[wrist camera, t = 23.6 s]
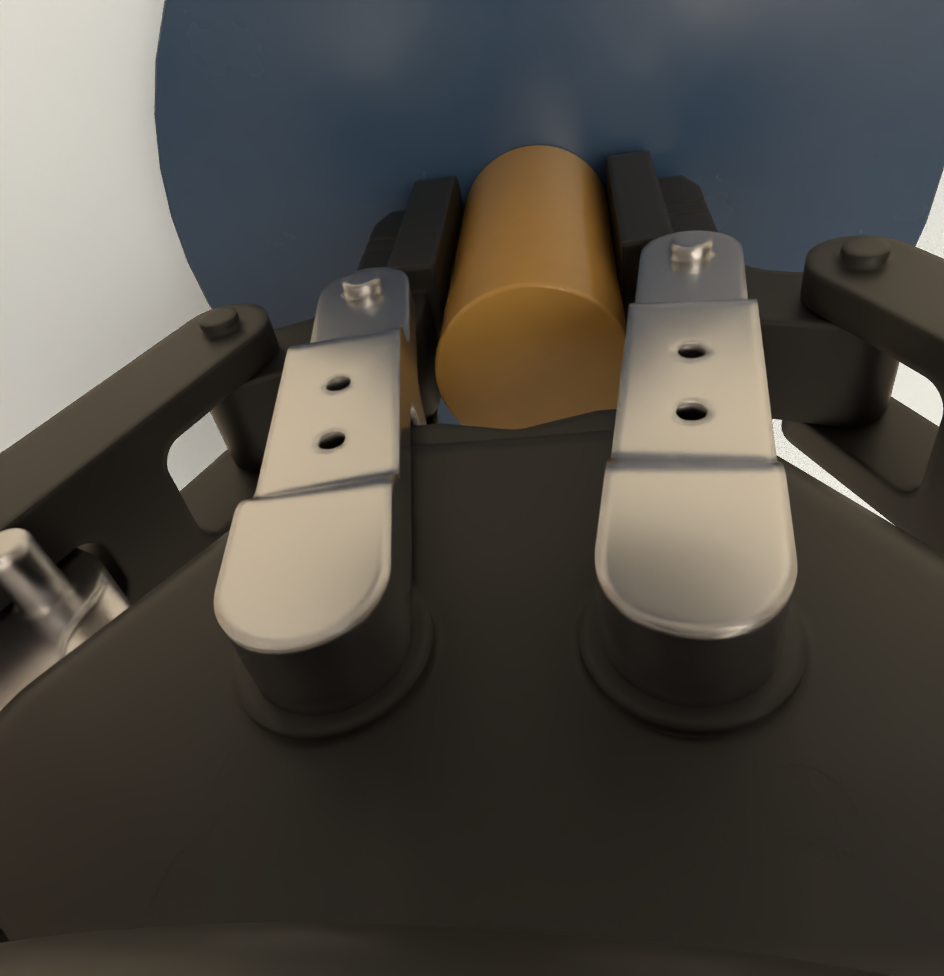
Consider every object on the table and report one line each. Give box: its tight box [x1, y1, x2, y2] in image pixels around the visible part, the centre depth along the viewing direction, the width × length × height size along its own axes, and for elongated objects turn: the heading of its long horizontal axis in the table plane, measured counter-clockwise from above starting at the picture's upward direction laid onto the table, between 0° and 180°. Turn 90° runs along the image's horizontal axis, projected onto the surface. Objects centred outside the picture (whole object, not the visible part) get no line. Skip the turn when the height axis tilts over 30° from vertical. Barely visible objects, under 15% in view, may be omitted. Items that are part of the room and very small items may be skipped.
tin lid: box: [154, 0, 944, 429], centre depth 12 cm, size 14×14×6 cm
